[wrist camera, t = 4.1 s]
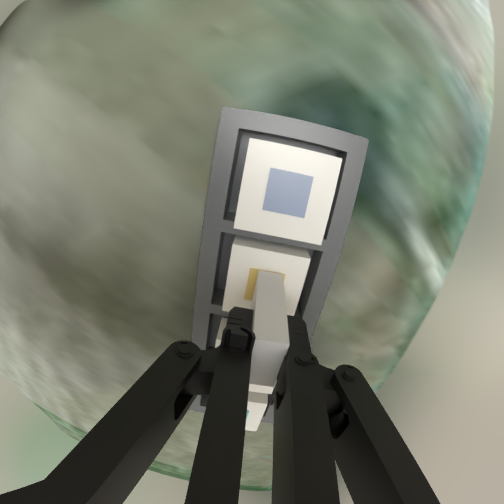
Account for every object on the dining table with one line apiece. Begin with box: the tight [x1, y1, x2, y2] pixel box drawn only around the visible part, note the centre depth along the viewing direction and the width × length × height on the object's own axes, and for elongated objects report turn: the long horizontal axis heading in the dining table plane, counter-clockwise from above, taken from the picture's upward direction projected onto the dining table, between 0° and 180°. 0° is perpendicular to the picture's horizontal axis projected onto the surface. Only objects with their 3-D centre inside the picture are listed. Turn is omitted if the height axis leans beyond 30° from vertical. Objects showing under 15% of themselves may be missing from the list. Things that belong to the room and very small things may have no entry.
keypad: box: [189, 106, 369, 423], centre depth 20 cm, size 9×27×3 cm, turn 169°
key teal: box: [208, 391, 268, 431], centre depth 21 cm, size 5×5×3 cm
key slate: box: [234, 138, 342, 245], centre depth 15 cm, size 5×5×3 cm
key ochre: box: [222, 235, 311, 316], centre depth 18 cm, size 5×5×3 cm
